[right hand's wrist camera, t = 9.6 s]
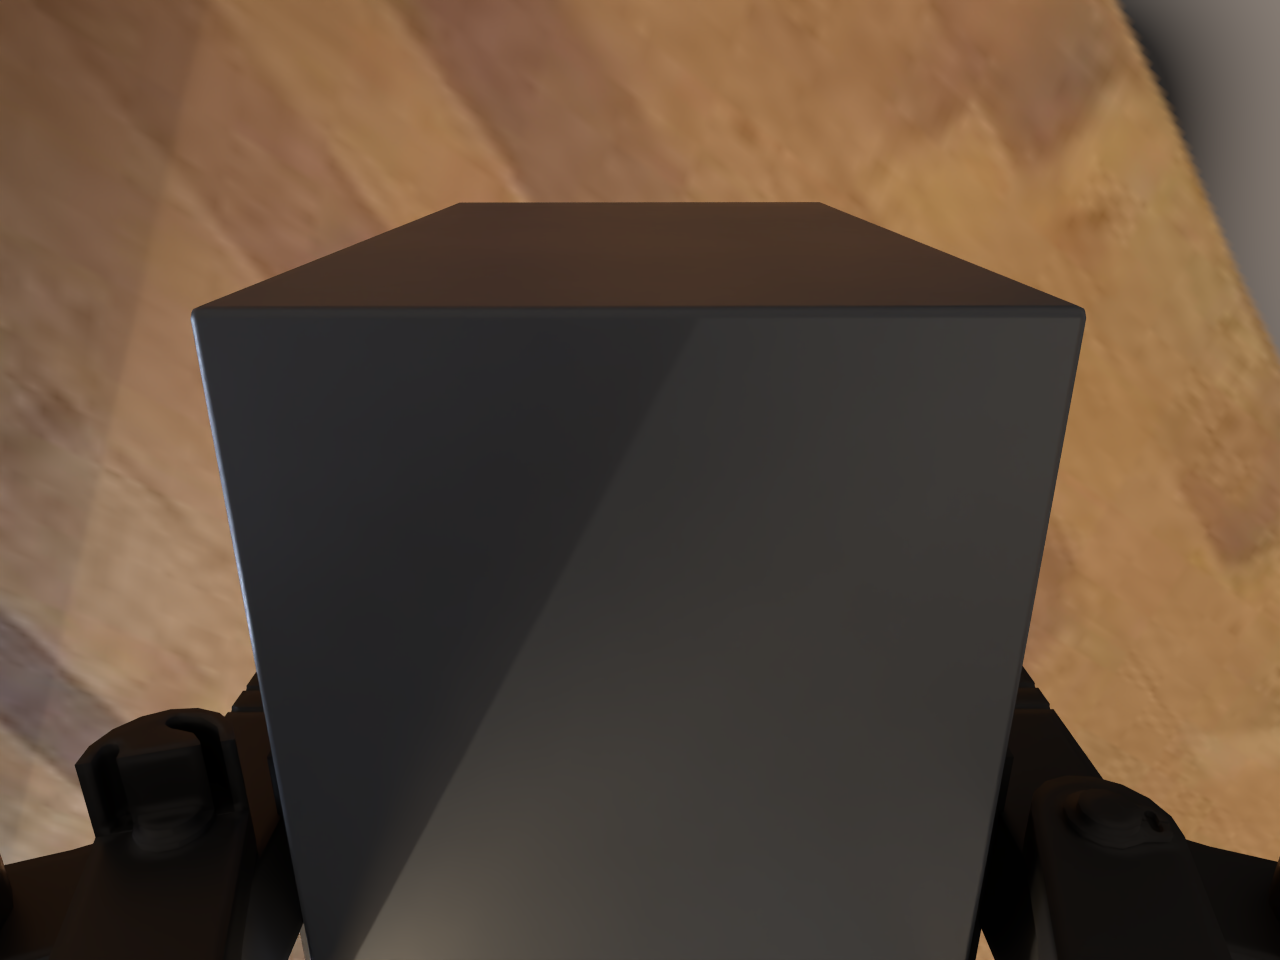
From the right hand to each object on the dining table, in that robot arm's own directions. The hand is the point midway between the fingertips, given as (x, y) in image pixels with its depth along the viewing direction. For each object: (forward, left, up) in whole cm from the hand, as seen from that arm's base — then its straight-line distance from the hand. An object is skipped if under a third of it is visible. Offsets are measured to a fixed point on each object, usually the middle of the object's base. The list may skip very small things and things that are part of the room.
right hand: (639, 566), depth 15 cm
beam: (-6, -19, -1) cm, 20 cm away
